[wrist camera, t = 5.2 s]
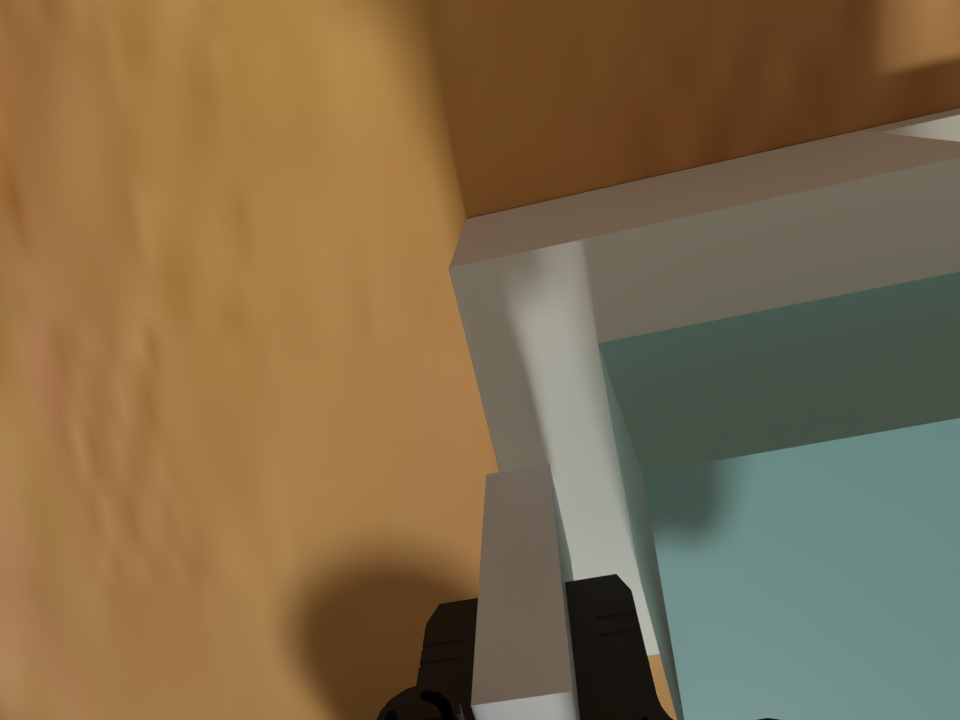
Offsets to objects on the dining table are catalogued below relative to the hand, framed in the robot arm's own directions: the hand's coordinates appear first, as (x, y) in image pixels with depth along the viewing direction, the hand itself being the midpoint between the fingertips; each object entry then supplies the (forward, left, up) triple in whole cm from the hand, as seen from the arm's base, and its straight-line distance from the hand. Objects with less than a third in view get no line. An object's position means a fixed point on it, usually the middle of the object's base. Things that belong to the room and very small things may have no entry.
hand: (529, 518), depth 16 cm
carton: (+7, 0, -2) cm, 8 cm away
